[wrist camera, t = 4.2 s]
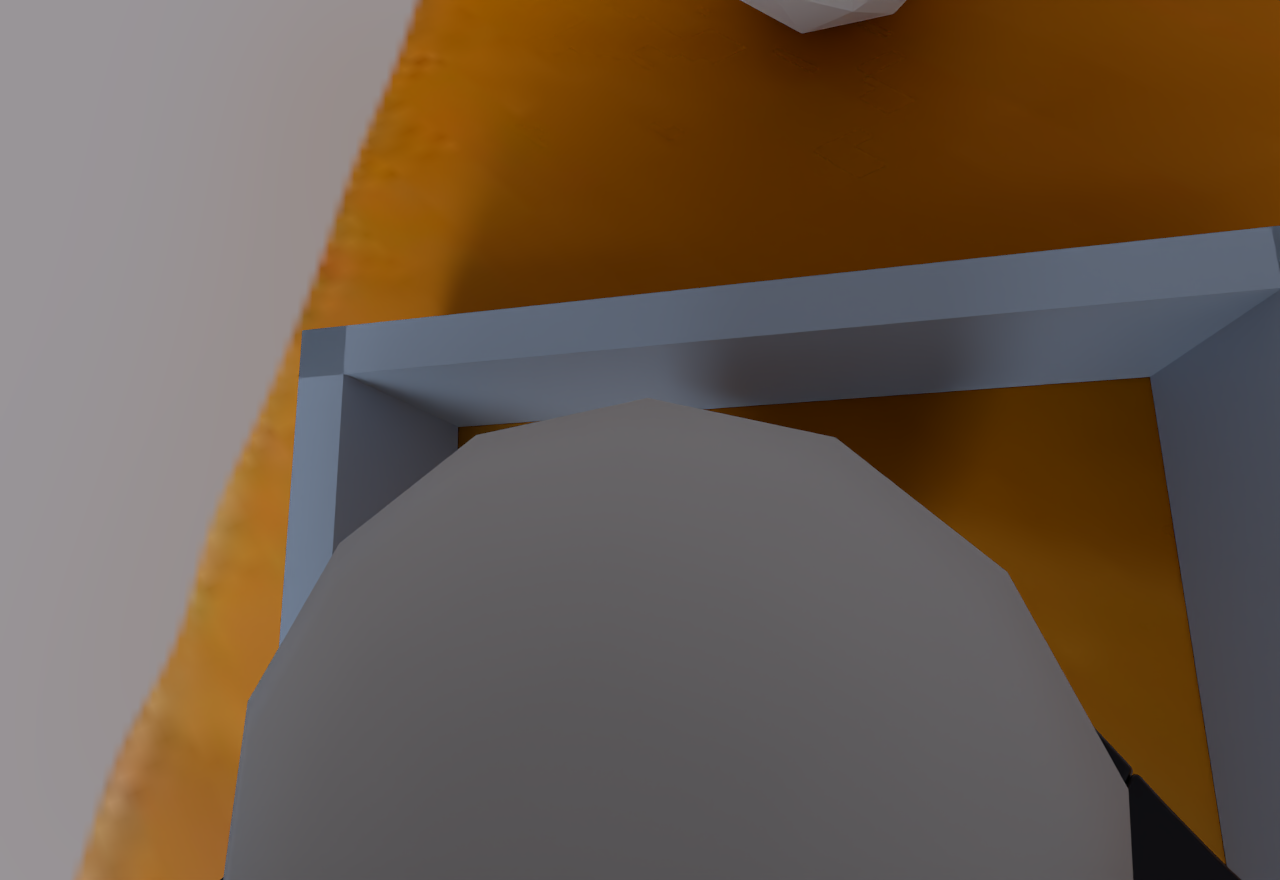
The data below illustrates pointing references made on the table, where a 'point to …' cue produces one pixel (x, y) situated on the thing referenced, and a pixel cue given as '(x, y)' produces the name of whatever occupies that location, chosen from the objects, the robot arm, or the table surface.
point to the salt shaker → (668, 679)
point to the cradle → (871, 367)
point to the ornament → (824, 11)
